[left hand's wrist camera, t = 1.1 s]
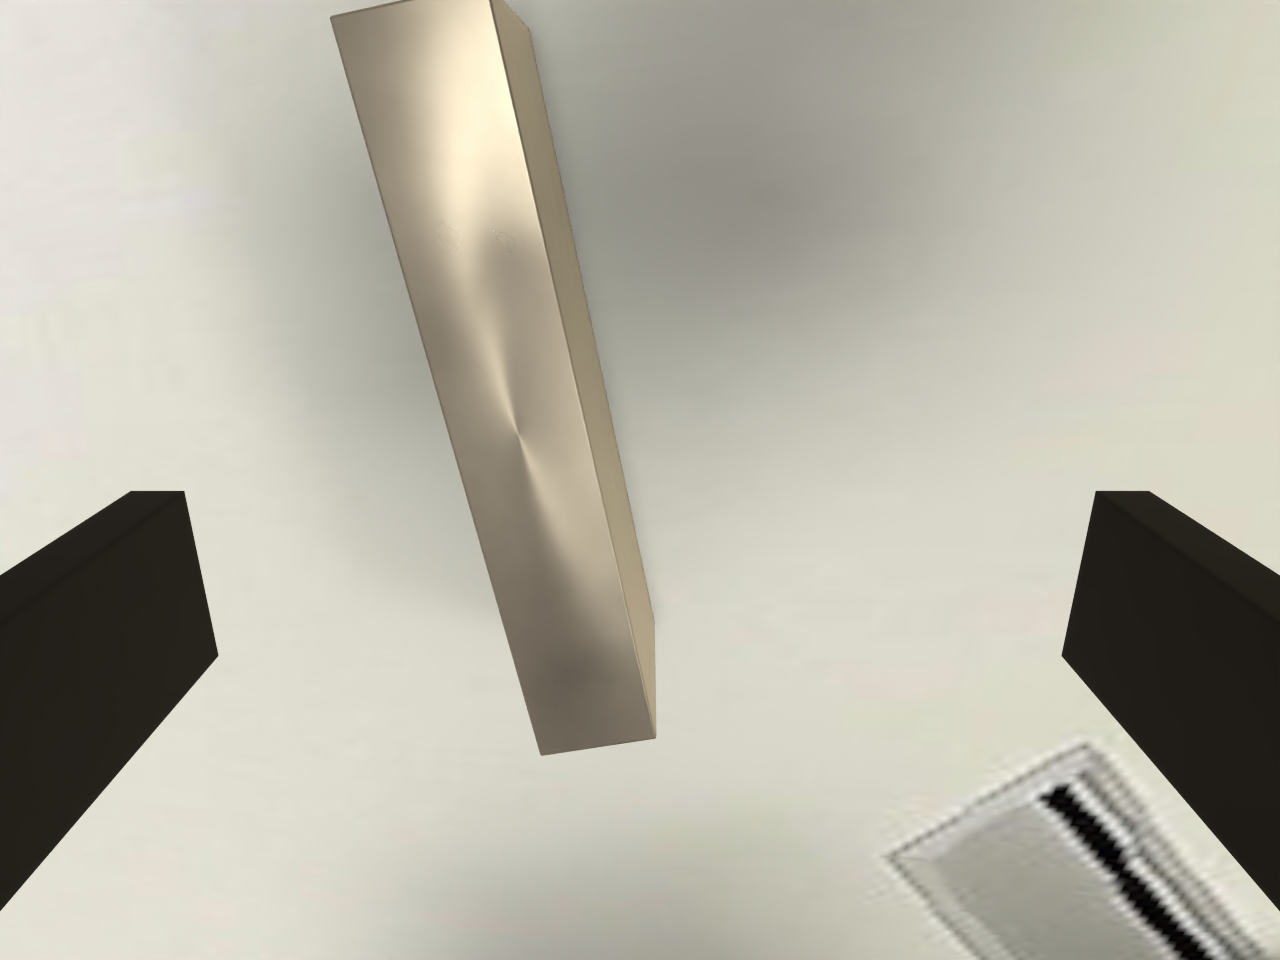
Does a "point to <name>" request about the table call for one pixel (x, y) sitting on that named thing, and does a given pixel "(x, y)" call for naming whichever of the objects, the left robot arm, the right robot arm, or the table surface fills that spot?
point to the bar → (510, 351)
